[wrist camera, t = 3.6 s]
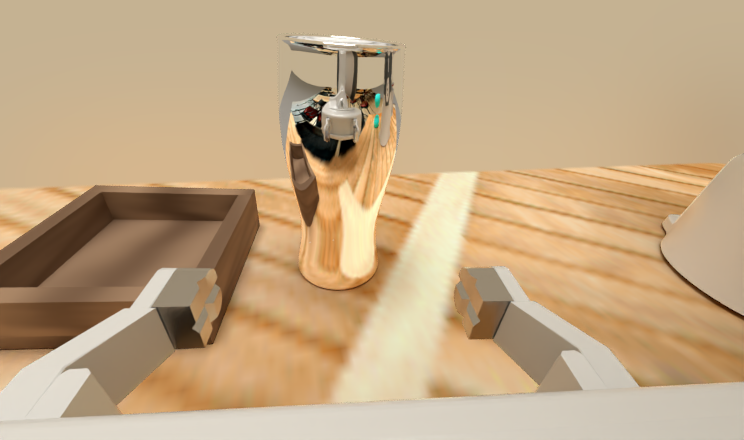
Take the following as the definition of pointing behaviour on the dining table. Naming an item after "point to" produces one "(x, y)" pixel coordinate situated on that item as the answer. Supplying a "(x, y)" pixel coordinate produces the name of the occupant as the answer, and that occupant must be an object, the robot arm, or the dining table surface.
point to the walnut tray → (117, 256)
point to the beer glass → (339, 146)
